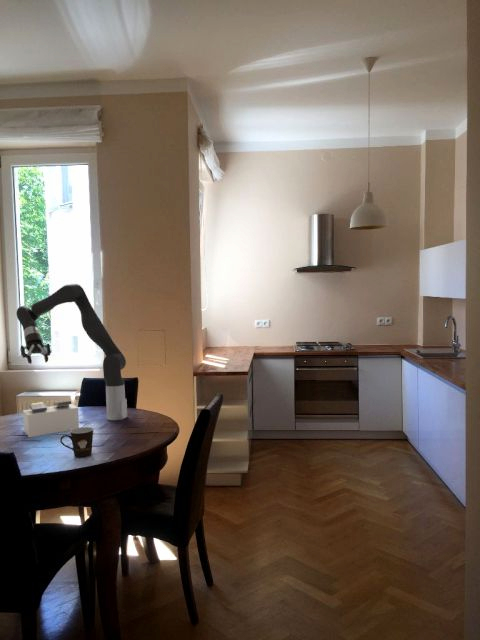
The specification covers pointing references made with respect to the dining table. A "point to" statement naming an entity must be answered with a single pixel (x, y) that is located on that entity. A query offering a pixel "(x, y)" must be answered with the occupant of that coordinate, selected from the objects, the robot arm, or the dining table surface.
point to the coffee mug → (81, 441)
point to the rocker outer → (37, 407)
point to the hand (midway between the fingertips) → (38, 362)
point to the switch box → (50, 420)
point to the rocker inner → (62, 403)
